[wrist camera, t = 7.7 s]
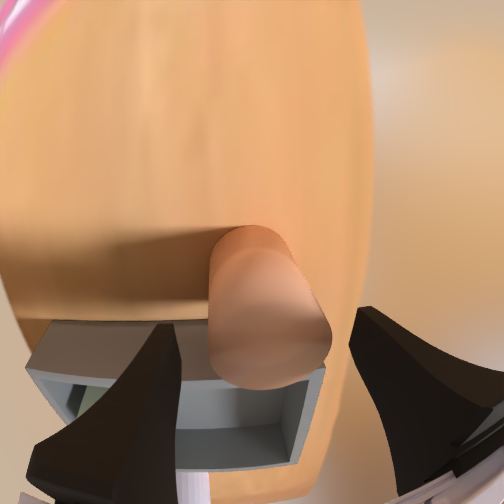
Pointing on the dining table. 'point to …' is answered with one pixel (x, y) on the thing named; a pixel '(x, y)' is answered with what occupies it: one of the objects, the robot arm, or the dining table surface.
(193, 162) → the dining table surface
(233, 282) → the terracotta cylinder
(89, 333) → the tote
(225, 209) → the dining table surface
